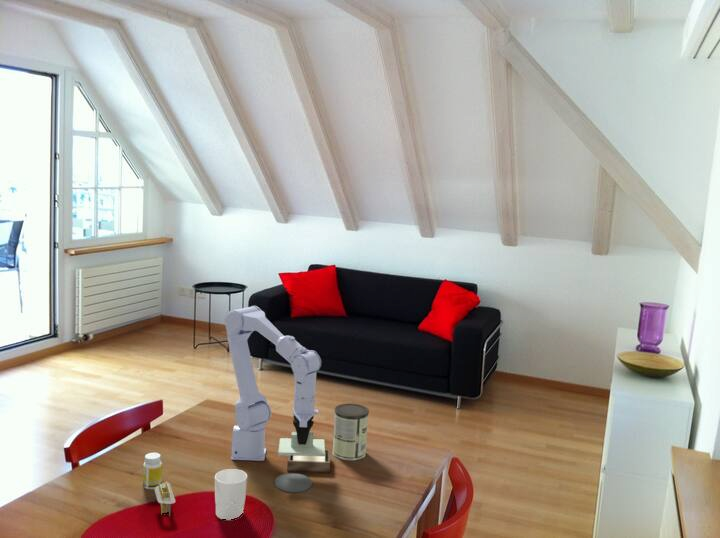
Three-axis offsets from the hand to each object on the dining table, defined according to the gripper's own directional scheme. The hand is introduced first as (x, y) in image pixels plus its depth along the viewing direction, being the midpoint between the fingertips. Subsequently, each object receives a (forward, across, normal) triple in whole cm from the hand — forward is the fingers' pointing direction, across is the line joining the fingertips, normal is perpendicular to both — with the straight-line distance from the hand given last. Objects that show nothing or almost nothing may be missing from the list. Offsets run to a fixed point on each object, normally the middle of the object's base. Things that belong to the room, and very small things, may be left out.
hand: (302, 442), depth 197 cm
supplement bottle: (+10, -8, +39) cm, 41 cm away
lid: (+2, 0, 0) cm, 2 cm away
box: (+10, +7, -2) cm, 12 cm away
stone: (+10, -5, +2) cm, 11 cm away
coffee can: (+10, +16, -14) cm, 24 cm away
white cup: (+10, -22, +17) cm, 30 cm away
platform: (+11, -21, +33) cm, 41 cm away
